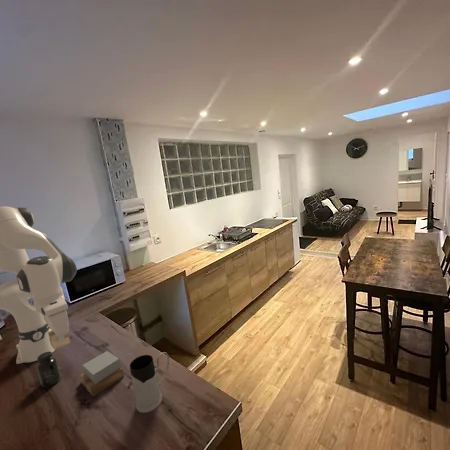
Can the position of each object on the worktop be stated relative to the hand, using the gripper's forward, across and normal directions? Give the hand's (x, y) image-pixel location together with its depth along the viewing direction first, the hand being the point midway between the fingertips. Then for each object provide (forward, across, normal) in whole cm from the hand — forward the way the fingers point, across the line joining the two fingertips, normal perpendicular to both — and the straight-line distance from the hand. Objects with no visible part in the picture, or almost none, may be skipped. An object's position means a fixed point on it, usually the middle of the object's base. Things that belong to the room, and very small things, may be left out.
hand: (59, 338), depth 92 cm
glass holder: (+24, +27, +19) cm, 41 cm away
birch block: (+2, 0, 0) cm, 2 cm away
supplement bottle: (+23, -17, -4) cm, 29 cm away
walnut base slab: (+24, +1, +10) cm, 26 cm away
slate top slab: (+20, +1, +11) cm, 23 cm away
